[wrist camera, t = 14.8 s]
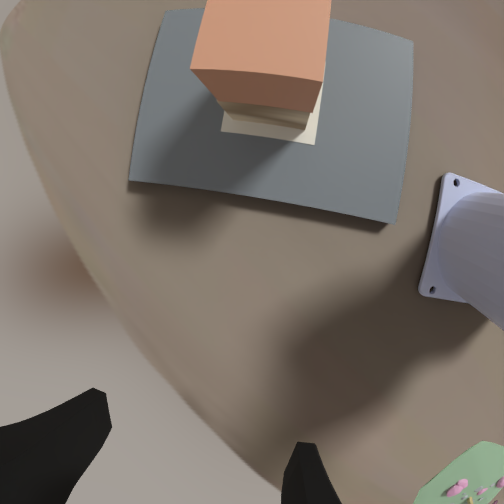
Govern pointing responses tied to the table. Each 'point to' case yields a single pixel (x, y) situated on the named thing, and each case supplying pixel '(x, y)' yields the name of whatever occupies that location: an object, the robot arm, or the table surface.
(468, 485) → the miniature garden diorama
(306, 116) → the birch block
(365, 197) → the baseplate
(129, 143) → the table surface
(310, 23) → the terracotta block
